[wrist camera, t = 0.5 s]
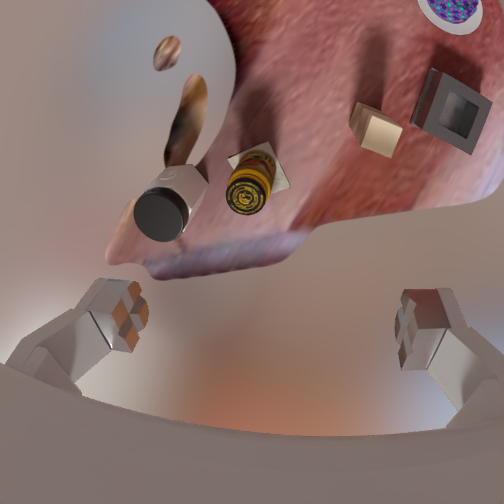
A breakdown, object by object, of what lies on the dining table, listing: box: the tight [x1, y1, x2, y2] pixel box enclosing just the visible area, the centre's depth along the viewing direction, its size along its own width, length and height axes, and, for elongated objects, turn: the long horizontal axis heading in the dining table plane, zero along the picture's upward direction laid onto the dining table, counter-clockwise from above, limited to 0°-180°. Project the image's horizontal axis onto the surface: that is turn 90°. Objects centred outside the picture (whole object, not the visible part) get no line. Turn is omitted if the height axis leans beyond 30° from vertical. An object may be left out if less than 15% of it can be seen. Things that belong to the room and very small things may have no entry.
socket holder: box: [410, 67, 493, 155], centre depth 37 cm, size 10×10×5 cm
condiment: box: [226, 141, 290, 215], centre depth 46 cm, size 7×8×12 cm
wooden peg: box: [349, 102, 403, 158], centre depth 38 cm, size 4×4×12 cm
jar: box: [134, 164, 208, 242], centre depth 50 cm, size 9×8×12 cm
